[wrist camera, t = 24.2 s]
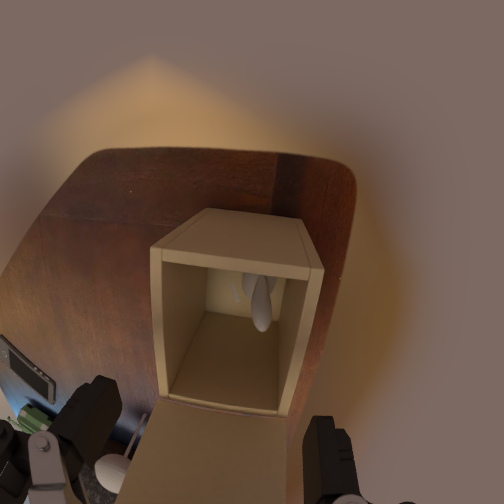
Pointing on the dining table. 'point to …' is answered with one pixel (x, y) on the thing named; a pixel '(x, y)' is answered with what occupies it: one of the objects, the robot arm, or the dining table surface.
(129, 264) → the dining table surface
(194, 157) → the dining table surface
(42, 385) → the smartphone
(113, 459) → the lollipop
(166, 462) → the lid
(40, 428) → the toy car
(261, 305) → the rabbit figurine
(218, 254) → the chest
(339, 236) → the dining table surface
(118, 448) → the decorative sphere
